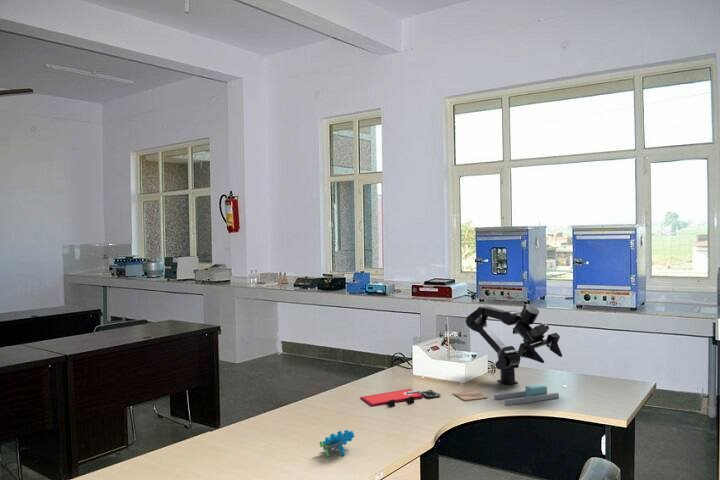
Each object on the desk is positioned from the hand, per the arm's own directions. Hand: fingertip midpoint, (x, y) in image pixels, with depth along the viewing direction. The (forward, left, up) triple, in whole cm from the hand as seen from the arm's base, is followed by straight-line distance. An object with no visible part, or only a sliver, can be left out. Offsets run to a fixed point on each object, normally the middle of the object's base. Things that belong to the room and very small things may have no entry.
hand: (552, 359), depth 215 cm
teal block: (-3, -6, -15) cm, 17 cm away
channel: (-3, -10, -15) cm, 19 cm away
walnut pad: (-14, -29, -15) cm, 36 cm away
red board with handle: (-22, -55, -16) cm, 62 cm away
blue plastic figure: (+19, -94, -15) cm, 97 cm away
